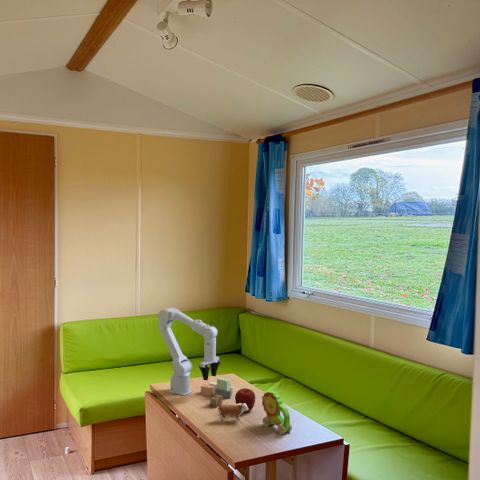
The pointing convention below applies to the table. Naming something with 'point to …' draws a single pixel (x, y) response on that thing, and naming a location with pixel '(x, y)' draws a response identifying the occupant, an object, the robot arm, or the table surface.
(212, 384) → the pale grey brick
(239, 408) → the bull figurine
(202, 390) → the terracotta brick
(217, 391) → the charcoal brick
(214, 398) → the walnut brick
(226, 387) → the sage brick
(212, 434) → the table surface
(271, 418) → the toy lion
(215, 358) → the robot arm
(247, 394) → the apple
